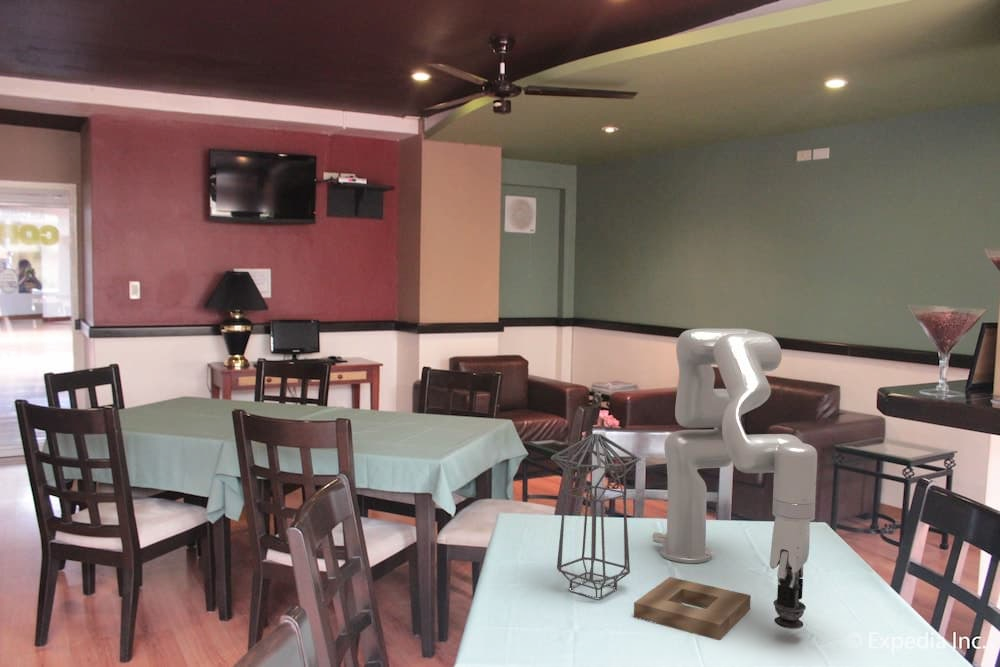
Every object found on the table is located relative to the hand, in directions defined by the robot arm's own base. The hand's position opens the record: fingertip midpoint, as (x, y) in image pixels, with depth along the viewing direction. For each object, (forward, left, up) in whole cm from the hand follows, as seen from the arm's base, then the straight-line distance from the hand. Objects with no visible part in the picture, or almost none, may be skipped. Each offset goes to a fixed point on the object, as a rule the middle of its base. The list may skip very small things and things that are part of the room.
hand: (789, 600), depth 152 cm
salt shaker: (0, 0, -5) cm, 5 cm away
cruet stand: (-19, 0, -7) cm, 21 cm away
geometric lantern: (-42, 0, -8) cm, 43 cm away
